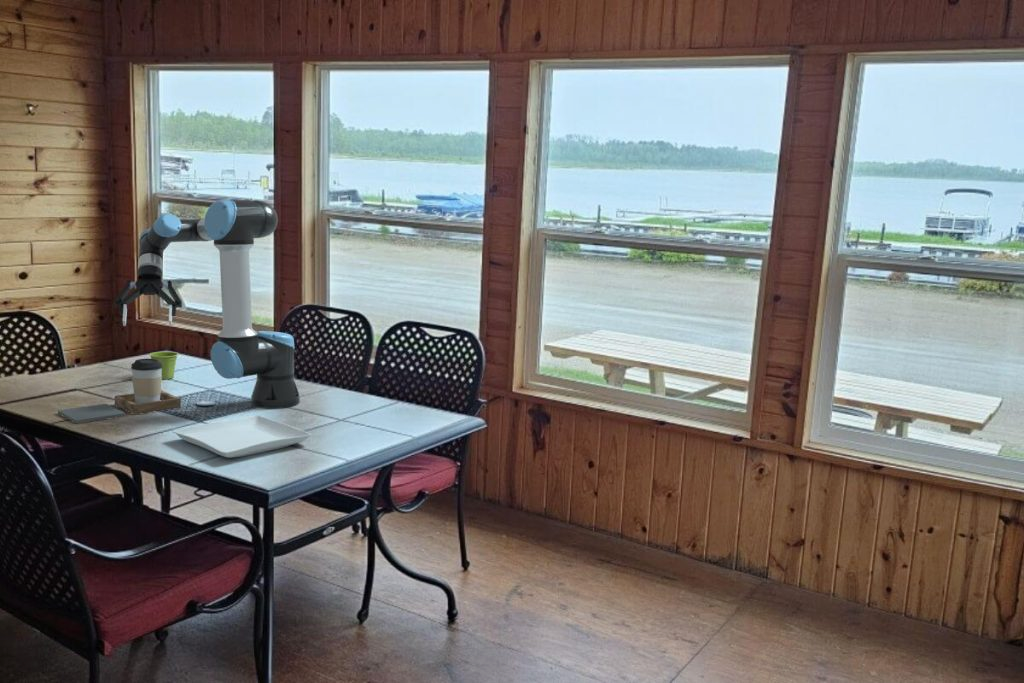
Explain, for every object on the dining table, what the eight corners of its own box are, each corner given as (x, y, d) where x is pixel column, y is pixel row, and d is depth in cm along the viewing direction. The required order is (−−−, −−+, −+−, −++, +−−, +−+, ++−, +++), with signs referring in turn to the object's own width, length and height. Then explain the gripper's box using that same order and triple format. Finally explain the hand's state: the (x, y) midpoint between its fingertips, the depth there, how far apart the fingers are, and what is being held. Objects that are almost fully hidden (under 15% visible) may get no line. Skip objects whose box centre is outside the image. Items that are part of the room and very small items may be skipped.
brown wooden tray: (180, 408, 283) (180, 398, 282) (134, 415, 272) (134, 405, 272) (160, 398, 292) (159, 389, 292) (114, 405, 282) (114, 395, 282)
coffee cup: (150, 401, 288) (149, 355, 286) (169, 406, 284) (168, 359, 281) (125, 407, 281) (124, 359, 278) (144, 412, 276) (143, 363, 274)
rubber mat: (125, 416, 271) (124, 413, 270) (76, 423, 261) (75, 420, 260) (106, 406, 280) (105, 403, 280) (58, 413, 270) (58, 410, 270)
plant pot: (151, 375, 324) (150, 351, 322) (179, 374, 326) (178, 351, 325) (149, 381, 315) (148, 356, 313) (178, 380, 318) (177, 356, 316)
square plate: (313, 446, 252) (313, 432, 251) (224, 466, 231) (224, 451, 231) (258, 425, 269) (258, 412, 269) (171, 442, 249) (171, 428, 248)
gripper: (190, 278, 306) (189, 330, 295) (110, 277, 299) (105, 330, 288) (189, 264, 300) (188, 316, 289) (107, 262, 293) (103, 316, 282)
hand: (147, 323), depth 288 cm, fingers open, 13 cm apart
